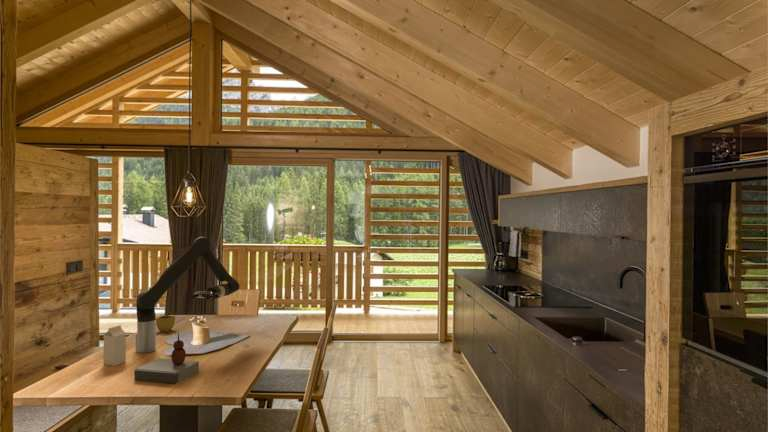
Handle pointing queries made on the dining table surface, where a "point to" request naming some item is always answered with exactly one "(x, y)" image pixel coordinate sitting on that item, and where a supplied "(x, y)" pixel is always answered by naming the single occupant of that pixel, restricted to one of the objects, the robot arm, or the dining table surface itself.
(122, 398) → the dining table surface
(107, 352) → the milk carton
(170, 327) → the flower pot
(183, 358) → the wooden figurine
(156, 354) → the dining table surface
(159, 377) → the block
